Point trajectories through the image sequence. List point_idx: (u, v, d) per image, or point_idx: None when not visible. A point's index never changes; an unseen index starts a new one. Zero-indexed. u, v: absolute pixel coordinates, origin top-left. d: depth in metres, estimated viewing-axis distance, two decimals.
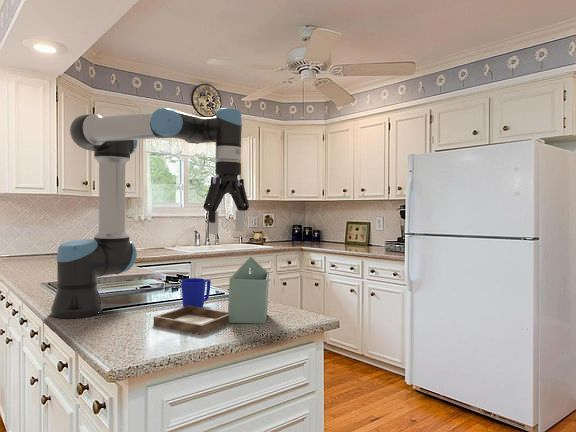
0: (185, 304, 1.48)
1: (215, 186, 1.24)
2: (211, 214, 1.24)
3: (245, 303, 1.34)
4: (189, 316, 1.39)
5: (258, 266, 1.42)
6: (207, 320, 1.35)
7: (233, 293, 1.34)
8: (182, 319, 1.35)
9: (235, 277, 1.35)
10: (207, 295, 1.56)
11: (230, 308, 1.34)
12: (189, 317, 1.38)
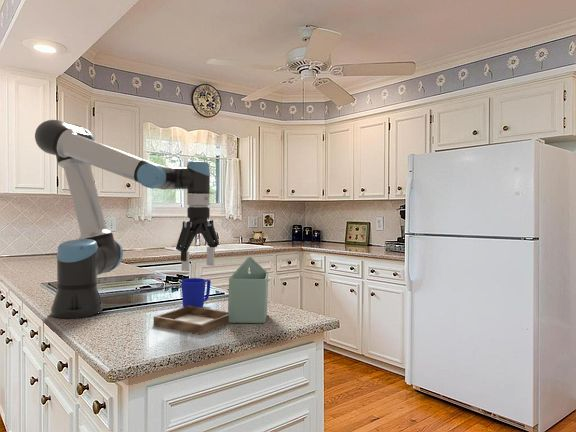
0: (185, 304, 1.48)
1: (186, 230, 1.44)
2: (183, 254, 1.44)
3: (245, 303, 1.34)
4: (189, 316, 1.39)
5: (257, 266, 1.42)
6: (207, 320, 1.35)
7: (233, 293, 1.34)
8: (182, 319, 1.35)
9: (234, 277, 1.35)
10: (207, 295, 1.56)
11: (230, 308, 1.34)
12: (189, 317, 1.38)
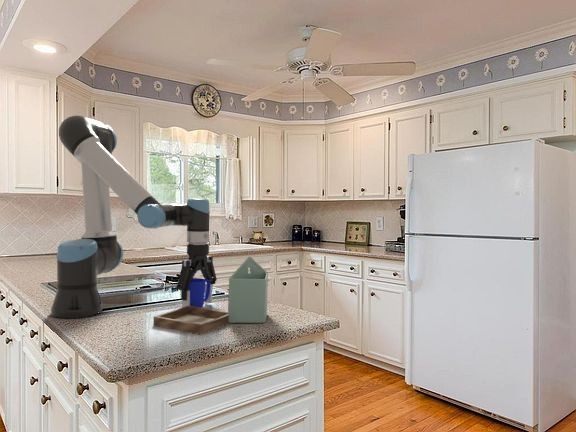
0: None
1: (186, 269, 1.45)
2: (183, 293, 1.45)
3: (245, 303, 1.34)
4: (189, 316, 1.39)
5: (257, 266, 1.42)
6: (207, 320, 1.35)
7: (233, 293, 1.34)
8: (182, 319, 1.35)
9: (234, 277, 1.35)
10: (207, 295, 1.56)
11: (230, 308, 1.34)
12: (189, 317, 1.38)
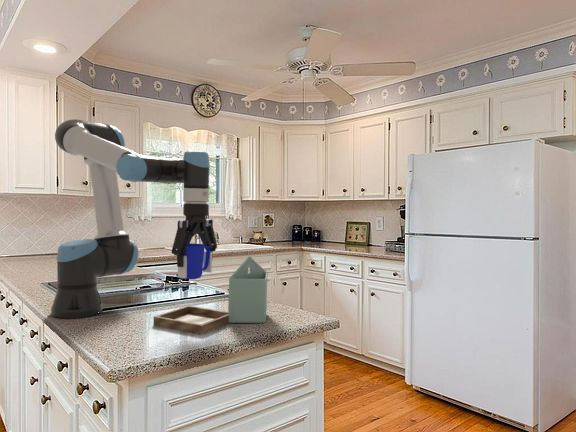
0: None
1: (182, 230, 1.26)
2: (179, 259, 1.26)
3: (246, 303, 1.34)
4: (189, 316, 1.39)
5: (257, 265, 1.42)
6: (207, 320, 1.35)
7: (233, 293, 1.34)
8: (182, 319, 1.35)
9: (234, 277, 1.35)
10: (206, 263, 1.37)
11: (230, 308, 1.34)
12: (189, 317, 1.38)
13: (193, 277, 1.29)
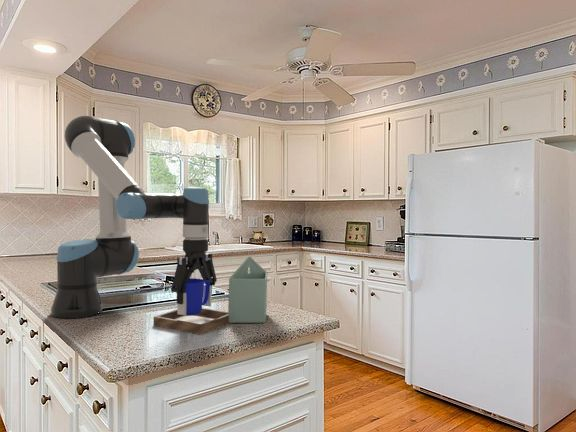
0: None
1: (181, 268, 1.27)
2: (179, 296, 1.27)
3: (246, 303, 1.35)
4: (189, 316, 1.39)
5: (257, 265, 1.42)
6: (207, 320, 1.35)
7: (233, 293, 1.34)
8: (182, 319, 1.35)
9: (234, 277, 1.35)
10: (206, 298, 1.37)
11: (230, 308, 1.34)
12: (189, 317, 1.38)
13: (193, 313, 1.29)
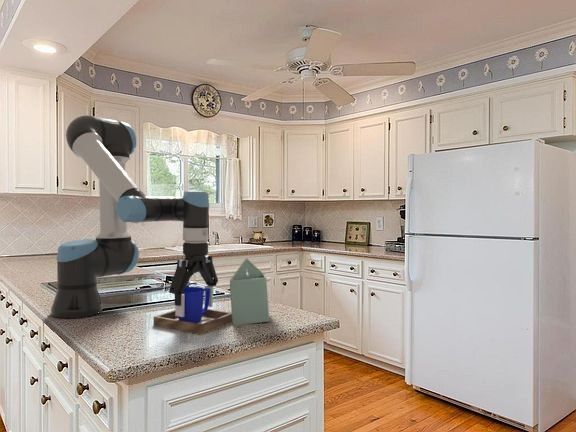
0: (181, 317, 1.30)
1: (181, 270, 1.27)
2: (177, 297, 1.26)
3: (248, 303, 1.35)
4: None
5: (254, 267, 1.44)
6: (207, 320, 1.35)
7: (235, 295, 1.34)
8: None
9: (234, 279, 1.36)
10: (206, 306, 1.38)
11: (233, 310, 1.34)
12: None
13: (193, 322, 1.30)
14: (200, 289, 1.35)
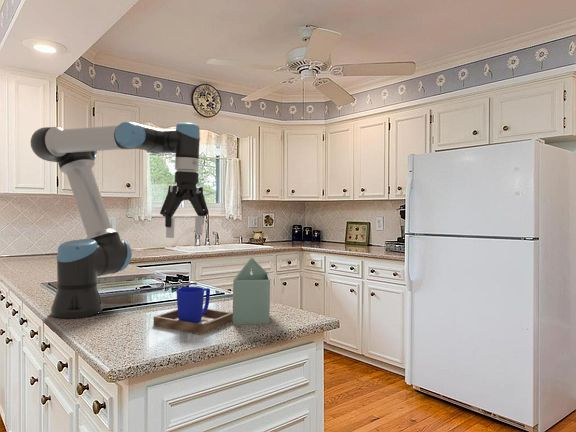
0: (181, 317, 1.30)
1: (171, 194, 1.37)
2: (167, 219, 1.37)
3: (250, 304, 1.34)
4: None
5: (258, 267, 1.42)
6: (207, 320, 1.35)
7: (237, 294, 1.34)
8: None
9: (238, 278, 1.35)
10: (206, 306, 1.38)
11: (234, 310, 1.34)
12: None
13: (193, 322, 1.30)
14: (200, 289, 1.35)
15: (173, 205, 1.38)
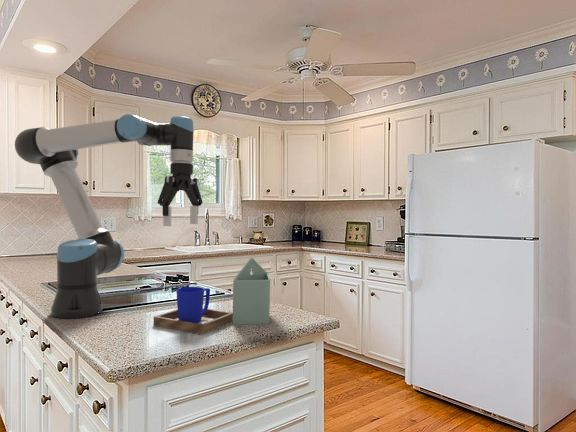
0: (181, 317, 1.30)
1: (168, 184, 1.43)
2: (164, 208, 1.43)
3: (250, 304, 1.34)
4: None
5: (258, 267, 1.42)
6: (207, 320, 1.35)
7: (237, 294, 1.34)
8: None
9: (238, 278, 1.35)
10: (206, 306, 1.38)
11: (234, 310, 1.34)
12: None
13: (193, 322, 1.30)
14: (200, 289, 1.35)
15: (170, 195, 1.45)
